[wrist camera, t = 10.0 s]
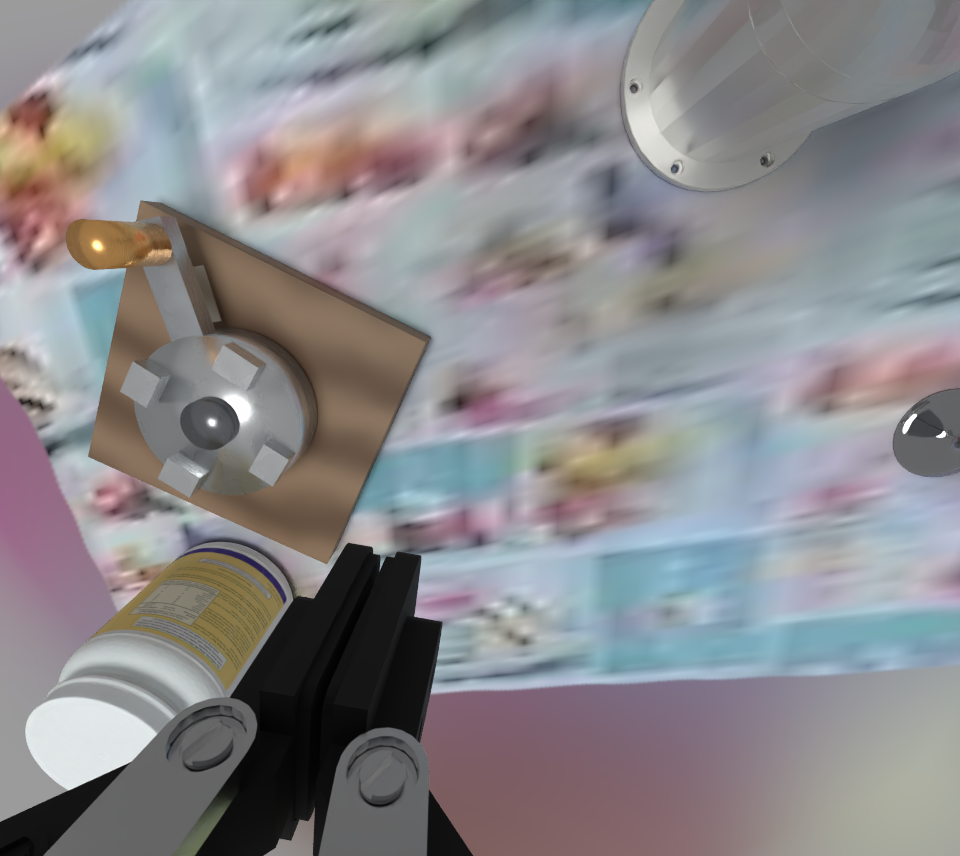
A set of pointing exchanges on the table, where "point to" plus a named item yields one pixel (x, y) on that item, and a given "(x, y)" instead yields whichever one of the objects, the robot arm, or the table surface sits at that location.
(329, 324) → the nut board
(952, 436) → the wine glass
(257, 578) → the supplement tub
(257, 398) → the silver and gold piece
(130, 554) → the table surface
